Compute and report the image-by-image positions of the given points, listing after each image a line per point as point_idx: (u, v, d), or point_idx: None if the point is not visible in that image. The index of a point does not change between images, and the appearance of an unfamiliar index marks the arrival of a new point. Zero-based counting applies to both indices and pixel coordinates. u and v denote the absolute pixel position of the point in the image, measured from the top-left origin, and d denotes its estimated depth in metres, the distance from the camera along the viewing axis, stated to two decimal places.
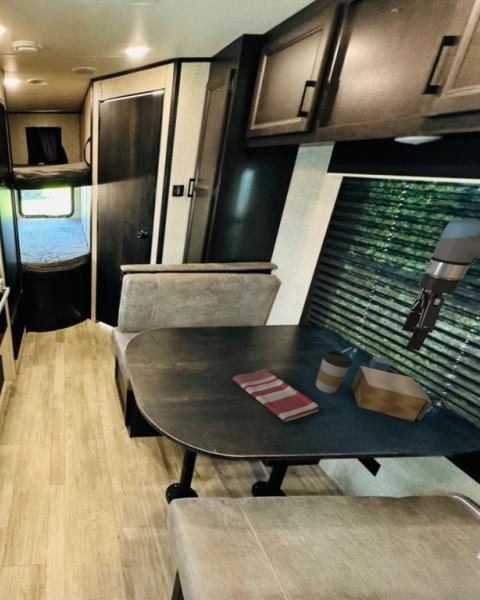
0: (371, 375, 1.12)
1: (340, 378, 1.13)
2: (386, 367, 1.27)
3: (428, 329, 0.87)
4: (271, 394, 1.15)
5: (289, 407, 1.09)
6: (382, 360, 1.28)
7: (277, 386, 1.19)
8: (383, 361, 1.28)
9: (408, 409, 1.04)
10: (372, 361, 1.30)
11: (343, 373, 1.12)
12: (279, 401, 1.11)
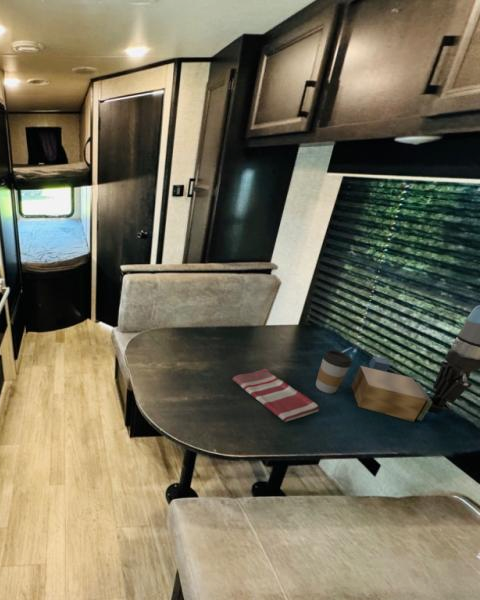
0: (371, 375, 1.12)
1: (340, 378, 1.13)
2: (386, 367, 1.27)
3: (450, 399, 1.00)
4: (271, 394, 1.15)
5: (289, 407, 1.09)
6: (382, 360, 1.28)
7: (277, 386, 1.19)
8: (383, 361, 1.28)
9: (408, 409, 1.04)
10: (372, 361, 1.30)
11: (343, 373, 1.12)
12: (279, 401, 1.11)
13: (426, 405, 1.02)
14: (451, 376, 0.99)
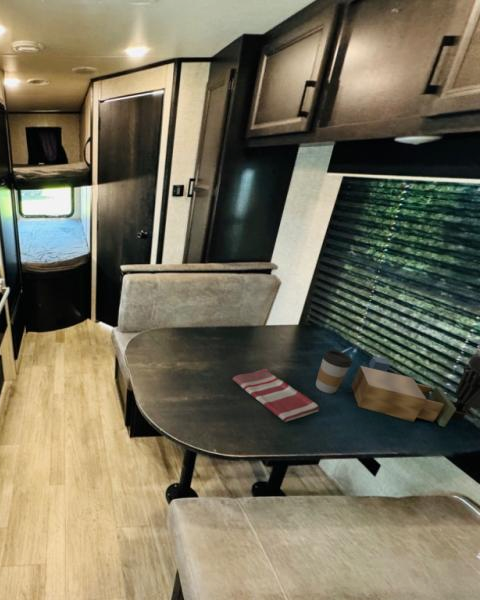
0: (371, 375, 1.12)
1: (340, 378, 1.13)
2: (386, 367, 1.27)
3: (474, 405, 0.97)
4: (271, 394, 1.15)
5: (289, 407, 1.09)
6: (382, 360, 1.28)
7: (277, 386, 1.19)
8: (383, 361, 1.28)
9: (408, 409, 1.04)
10: (372, 361, 1.30)
11: (343, 373, 1.12)
12: (279, 401, 1.11)
13: (449, 411, 0.99)
14: (475, 382, 0.96)
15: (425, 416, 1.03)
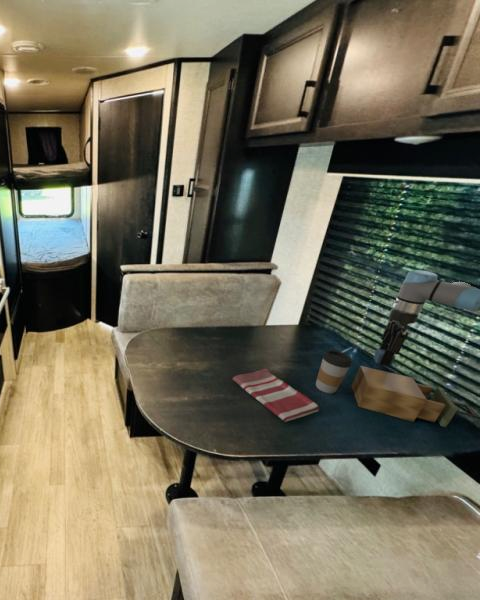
0: (371, 375, 1.12)
1: (340, 378, 1.13)
2: None
3: (395, 351, 1.20)
4: (271, 394, 1.15)
5: (289, 407, 1.09)
6: None
7: (277, 386, 1.19)
8: None
9: (408, 409, 1.04)
10: (377, 354, 1.29)
11: (343, 373, 1.12)
12: (279, 401, 1.11)
13: (451, 411, 0.99)
14: (393, 330, 1.21)
15: (426, 416, 1.03)
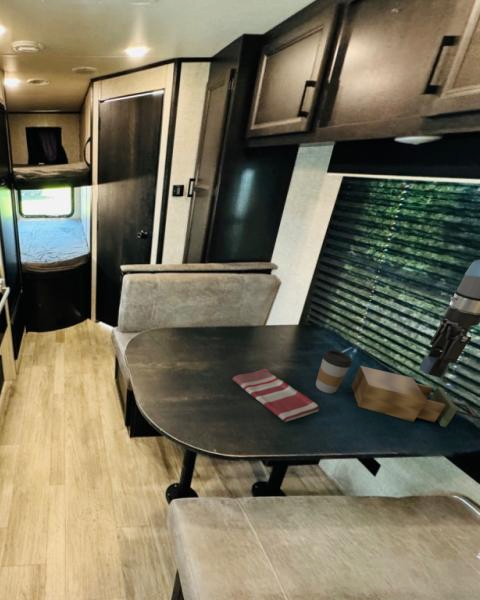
0: (371, 375, 1.12)
1: (340, 378, 1.13)
2: None
3: (452, 360, 0.98)
4: (271, 394, 1.15)
5: (289, 407, 1.09)
6: None
7: (277, 386, 1.19)
8: None
9: (408, 409, 1.04)
10: (425, 362, 1.06)
11: (343, 373, 1.12)
12: (279, 401, 1.11)
13: (451, 411, 0.99)
14: (449, 333, 0.99)
15: (426, 416, 1.03)
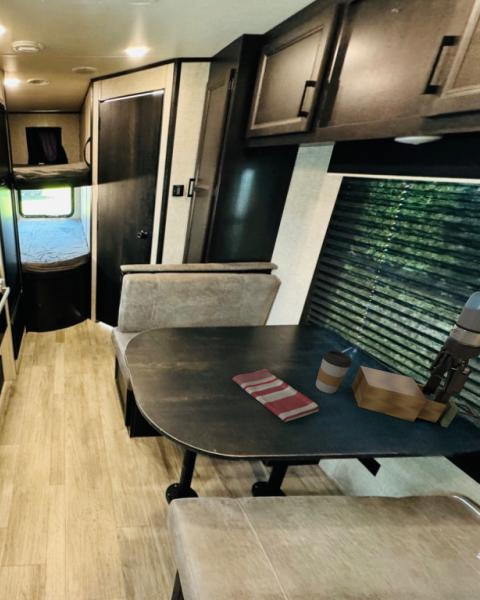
0: (371, 375, 1.12)
1: (340, 378, 1.13)
2: None
3: (455, 393, 0.96)
4: (271, 394, 1.15)
5: (289, 407, 1.09)
6: (433, 399, 1.05)
7: (277, 386, 1.19)
8: None
9: (408, 409, 1.04)
10: None
11: (343, 373, 1.12)
12: (279, 401, 1.11)
13: (452, 412, 0.99)
14: (450, 364, 0.98)
15: (427, 417, 1.03)
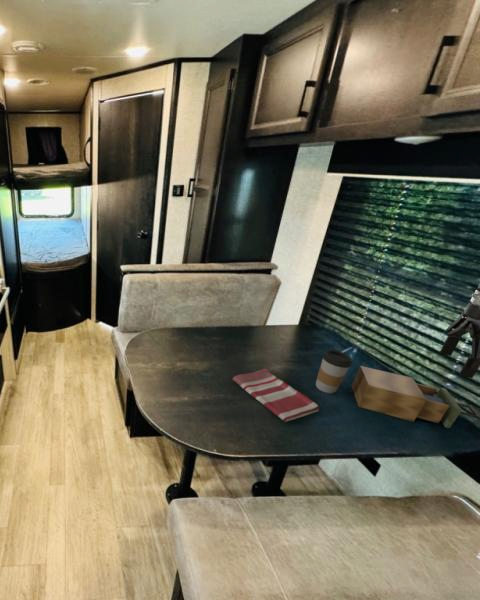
0: (371, 375, 1.12)
1: (340, 378, 1.13)
2: None
3: None
4: (271, 394, 1.15)
5: (289, 407, 1.09)
6: (436, 400, 1.05)
7: (277, 386, 1.19)
8: (437, 401, 1.04)
9: (408, 409, 1.04)
10: None
11: (343, 373, 1.12)
12: (279, 401, 1.11)
13: (455, 412, 0.99)
14: (471, 331, 0.96)
15: (430, 417, 1.03)
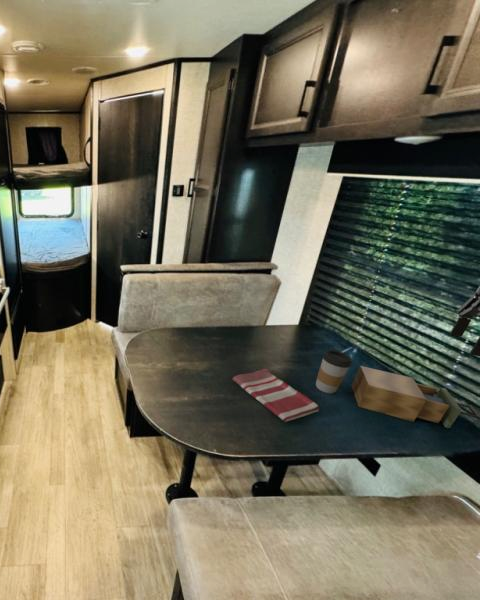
0: (371, 375, 1.12)
1: (340, 378, 1.13)
2: None
3: None
4: (271, 394, 1.15)
5: (289, 407, 1.09)
6: (436, 400, 1.05)
7: (277, 386, 1.19)
8: (437, 401, 1.04)
9: (408, 409, 1.04)
10: None
11: (343, 373, 1.12)
12: (279, 401, 1.11)
13: (455, 412, 0.99)
14: None
15: (430, 417, 1.03)
